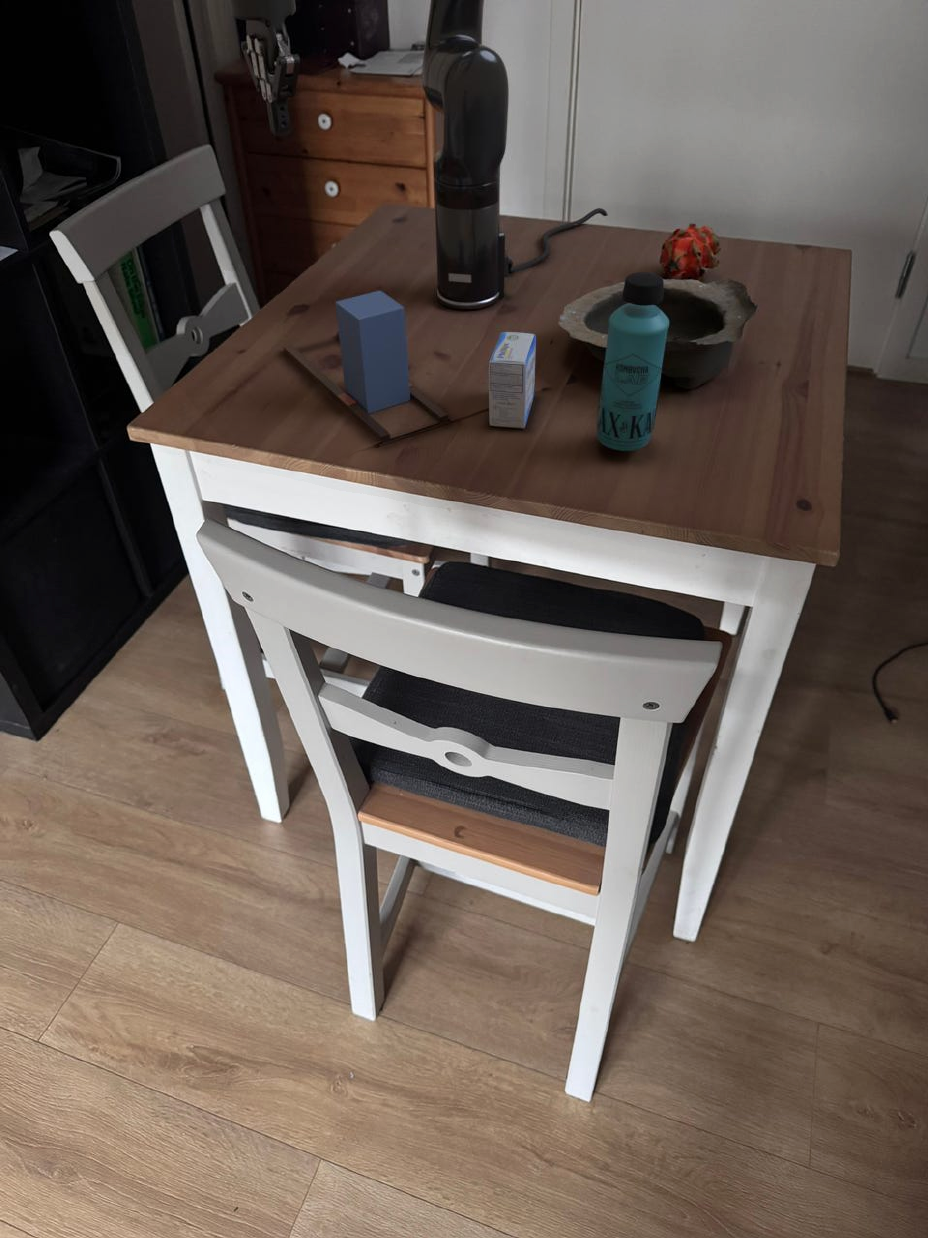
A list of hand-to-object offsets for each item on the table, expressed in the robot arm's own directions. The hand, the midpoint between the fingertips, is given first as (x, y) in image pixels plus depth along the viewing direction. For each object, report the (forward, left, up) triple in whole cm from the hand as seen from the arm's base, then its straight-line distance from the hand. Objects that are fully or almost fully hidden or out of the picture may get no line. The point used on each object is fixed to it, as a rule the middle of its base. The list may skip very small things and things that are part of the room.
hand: (281, 133), depth 114 cm
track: (+3, +22, -25) cm, 33 cm away
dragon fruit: (-56, +19, -25) cm, 64 cm away
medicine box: (-10, +38, -25) cm, 47 cm away
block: (+3, +27, -24) cm, 36 cm away
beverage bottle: (-16, +52, -25) cm, 60 cm away
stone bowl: (-33, +37, -25) cm, 56 cm away
